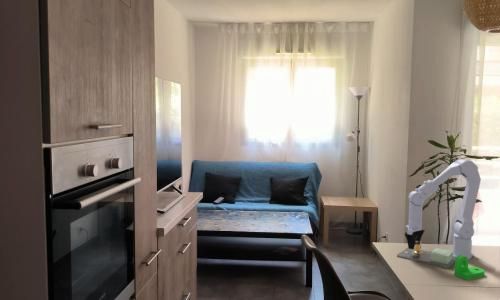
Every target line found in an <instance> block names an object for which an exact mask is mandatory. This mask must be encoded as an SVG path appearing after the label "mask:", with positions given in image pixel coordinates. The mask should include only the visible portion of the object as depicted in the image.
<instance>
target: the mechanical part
mask: <svg viewBox="0 0 500 300" xmlns="http://www.w3.org/2000/svg"><path fill="white" fill-rule="evenodd" d="M469 261H470V260H468V258H467V257H466V256H462V255H459V256H458V257H457V258H456V260H455V262H454V276H456V277H459V278H460V279H461V278H462V279H464V280H466V281H470V280H474V279H478V278H483V277H484V276H485V270H484V269H483V268H480V267H477V266H475V265H473V266H469Z"/></svg>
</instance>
